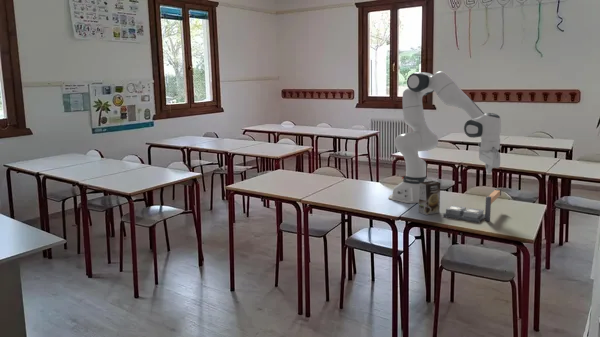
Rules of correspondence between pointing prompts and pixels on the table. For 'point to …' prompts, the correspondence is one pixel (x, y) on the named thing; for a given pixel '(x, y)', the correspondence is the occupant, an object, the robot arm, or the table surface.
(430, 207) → the coffee box
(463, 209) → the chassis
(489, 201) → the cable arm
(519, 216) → the table surface
